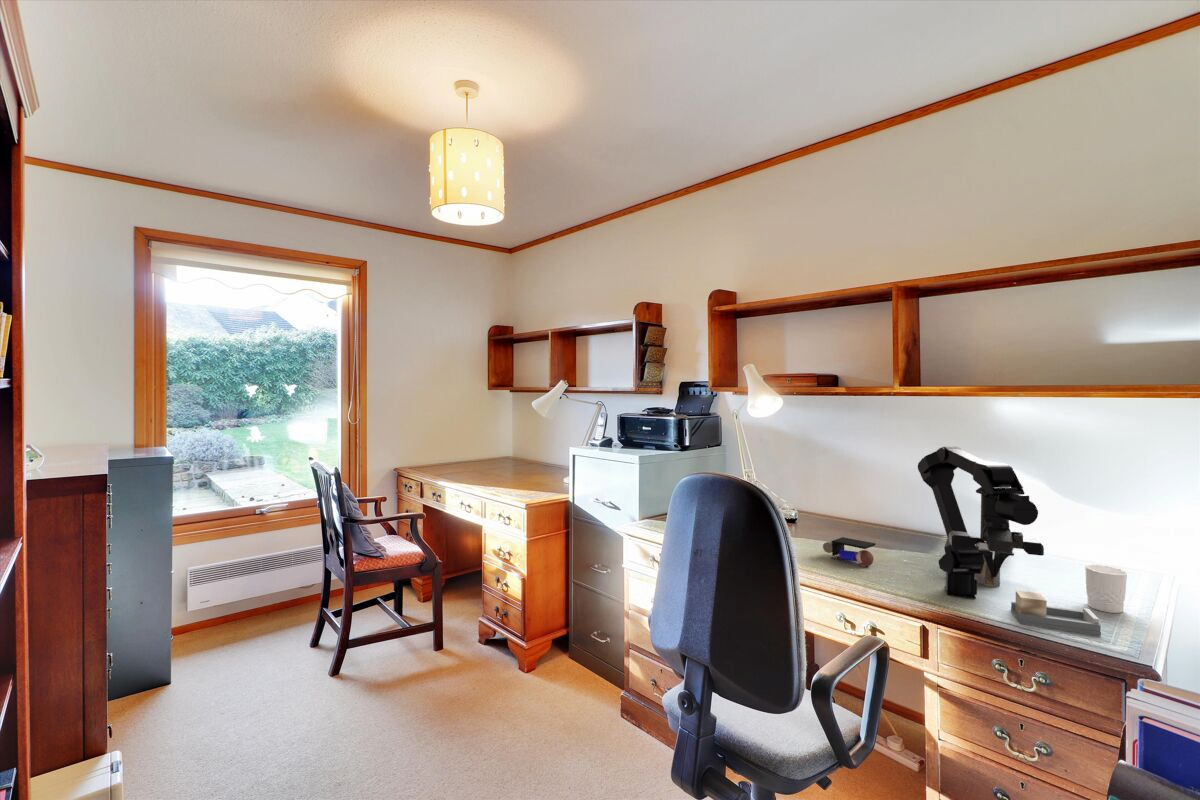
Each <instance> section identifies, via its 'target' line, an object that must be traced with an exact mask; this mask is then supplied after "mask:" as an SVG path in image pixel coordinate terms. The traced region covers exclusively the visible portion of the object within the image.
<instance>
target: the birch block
mask: <svg viewBox="0 0 1200 800" xmlns="http://www.w3.org/2000/svg"><path fill="white" fill-rule="evenodd" d="M1014 602H1015V610H1016V612H1017V613H1018V615H1019V613H1026V614H1034V615H1041V616H1046V610H1047V606H1048V605H1047V604H1048V603H1047V602H1048V601H1047V599H1046V598H1045V597H1044V596H1043V595H1042V593H1040V592H1030V591H1025V590H1024V591H1023V590H1015V600H1014Z"/></svg>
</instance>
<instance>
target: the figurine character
mask: <svg viewBox="0 0 1200 800" xmlns="http://www.w3.org/2000/svg"><path fill="white" fill-rule="evenodd" d="M845 546H848V547H853V548H857V549H858V548H859V549H861V550H859V551H856V550H855V551H853V550H846V549H845ZM874 546H876V542H871V541H865V540H860V539H855V538H850V537H849V538H848V537H844V536H842V537H840V538H836V539H833V540H831V541H827V542H824V543H823V545H822V549H823V551H824V552H826V553H827V554H831V553H832V555H831V556H830V558H831V559H833V560H844V561H849V562H850V561H851V562H857V563H858V564H859V566H862V567H869V566H871V565H872V564H873V562H874V555H873V554H872V552H871V551H869V550H867V549H869V548H872V547H874Z"/></svg>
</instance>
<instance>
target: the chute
mask: <svg viewBox="0 0 1200 800" xmlns="http://www.w3.org/2000/svg"><path fill="white" fill-rule="evenodd" d="M1010 604H1011V605H1010V611H1011V613H1012V614H1013V615H1014V617H1015V618H1017V619H1016V620H1017V622H1018V621H1019V622H1018V623H1019V624H1020V625H1026V626H1031V625H1033V626H1032V627H1038V626H1041V627H1040V628H1045V627H1048V628H1047V629H1051V628H1053V629H1052V630H1058V629H1061V630H1060V631H1065V630H1066V631H1065V632H1073V633H1079V634H1087V635H1094V636H1100V637H1101V636H1102V632H1101V628H1102V627H1101V626H1102V625H1101V624H1100V618H1098V616H1096V614H1095V613H1093V612H1092V611H1091V610H1090V608H1087V607H1086V608H1083V610H1079V609H1070V608H1063V607H1056V606H1049V605H1047V610H1046V616H1041V615H1034V614H1026V613H1019V615H1018V613H1017V612H1016V610H1015V601H1013V600H1012V601H1011V602H1010Z"/></svg>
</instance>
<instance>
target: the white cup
mask: <svg viewBox="0 0 1200 800" xmlns="http://www.w3.org/2000/svg"><path fill="white" fill-rule="evenodd" d="M1084 573H1085V587H1086V588H1085V589H1086V595H1087V605H1088V607H1090V609H1091V608H1092V609H1095V610H1097V611H1101V612H1105V613H1111V614H1121V613H1123V612H1124V606H1125V605H1124V604H1125V603H1124V602H1125V600H1126V599H1125V598H1126V591H1127V579H1128V572H1127V571H1126V570H1124V569H1121V568H1117V567H1115V566H1114V567H1113V566H1109V565H1103V564H1095V563H1094V564H1086V565H1085V572H1084Z"/></svg>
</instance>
